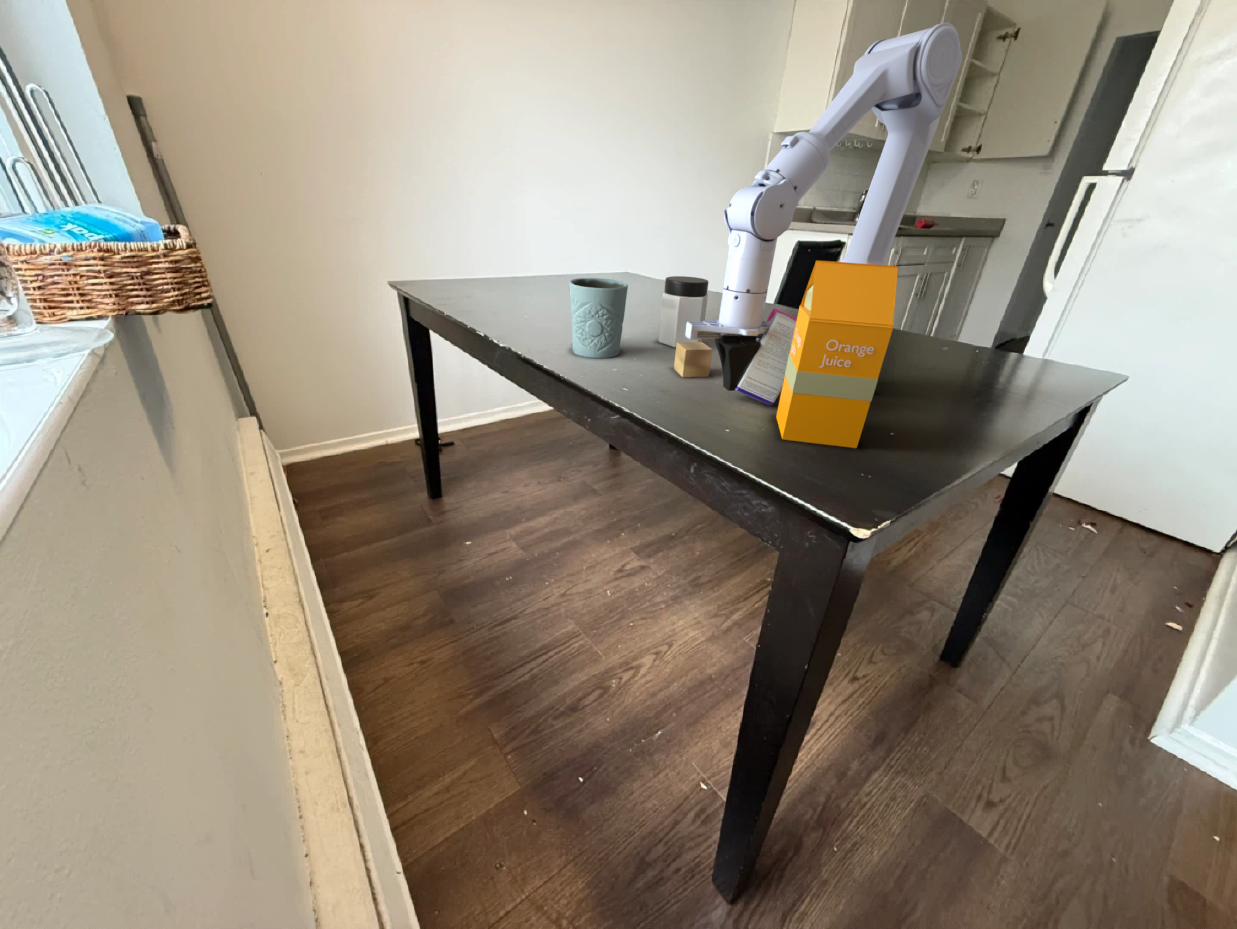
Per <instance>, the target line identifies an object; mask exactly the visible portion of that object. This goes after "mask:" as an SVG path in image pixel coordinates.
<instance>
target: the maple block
mask: <svg viewBox="0 0 1237 929" xmlns="http://www.w3.org/2000/svg"><path fill="white" fill-rule="evenodd" d="M712 354H713V349H712V348H711V347H710V346H708V345H707V344H706V343H704V342H703V341H702V342H677V344H676V347H675V355H674V365H673V369H674V371H675V372H676V373H678V375H680V376H681V377H682V378H708V377H710V369H711V362H712V356H713V355H712Z"/></svg>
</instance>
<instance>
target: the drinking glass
mask: <svg viewBox="0 0 1237 929" xmlns="http://www.w3.org/2000/svg"><path fill="white" fill-rule="evenodd" d="M568 288H569V300H570V318H571V340H572V342H571V347H572V348H571V349H572V352H573V354H575V355H578V356H579V357H585V358H592V359H606V358H607V359H608V358H614V357H616V356H618V355H619V353H620V350H621V341H622V334H623V325H624V320H625V313H626V303H627V296H628V289H629V284H628V283H627V282H624V281H621V280H617V279H610V278H601V277H579V278H573V279H571V280H569V282H568Z"/></svg>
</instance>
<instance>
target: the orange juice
mask: <svg viewBox="0 0 1237 929" xmlns="http://www.w3.org/2000/svg"><path fill="white" fill-rule="evenodd" d="M898 273H899V265H887V264H884V265H875V264H861V263H847V262H840V261H831V260H817V259H816V260H815V263H814V265H813V268H812V272H811V273H810V277H809V280H808V283H807V285H806V288H805V290H804V294H803V297H802V300H801V303H800V305H799V308H798V312H797V317H796V318H797V321H796V326H795V331H794V335H793V340H792V345H791V349H790V354H789V357H788V362H787V366H786V371H785V378H784V382H783V387H782V390H781V392H780V396H779V401H778V406H777V411H776V415H775V418H776V421H777V424H778V429H779V433H780V437H781V440H785V441H792V442H801V443H802V442H803V443H808V444H809V443H811V444H816V445H817V444H818V445H827V446H835V447H844V448H851V449H857V448H858V446H859V441H860V439H861V435H862V432H863V429H864V425H865V422H866V420H867V419H866V418H867V415H868V412H869V408H870V406H871V402H872V400H873V397H874V394H875V391H876V388H877V385H878V381H879V376H880V373H881V369H882V366H883V362H884V359H885V356H886V352H887V350H888V346H889V344H890V340H891V338H892V337H891V336H892V333H893V330H894V327H895V325H894V320H895V309H896V298H897V297H896V296H897V285H898Z"/></svg>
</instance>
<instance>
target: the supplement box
mask: <svg viewBox="0 0 1237 929" xmlns="http://www.w3.org/2000/svg"><path fill="white" fill-rule="evenodd" d="M796 321H797V317H795V316H793V315H790V314H788V313H786V312H784V311H781V310H779V309H777V308H776V307H774V308H773V309H772V310H771V312H770V314H769V315H768V317H767V319H766V321H765V322H767V324H768V325H767V327H769V329H768V331H767V333H765V334H763V335H762V337H761V338H756V341H757V342H759V343H760V346H759V350H758V351H757V353H756V354H755V355H754V356H753V357H752V359H751V360H750V361H749V363H748V364H747V366H746V367H745V369H744V371H743V373H742V375H741V377H740V379H739V381H738V383H737V386H736V388H735V391H736V392H738V393H740V394H742V395H744V396H747V397H749V398H751V399H754V400H757V401H759V402H761V403H764V404H766V405H769V406H773V405H774V404H775V402H776V400H777V399H778V398H779V395H781V392H782V387H783V382H784V378H785V371H786V366H787V362H788V357H789V354H790V349H791V345H792V340H793V335H794V331H795V326H796Z"/></svg>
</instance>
